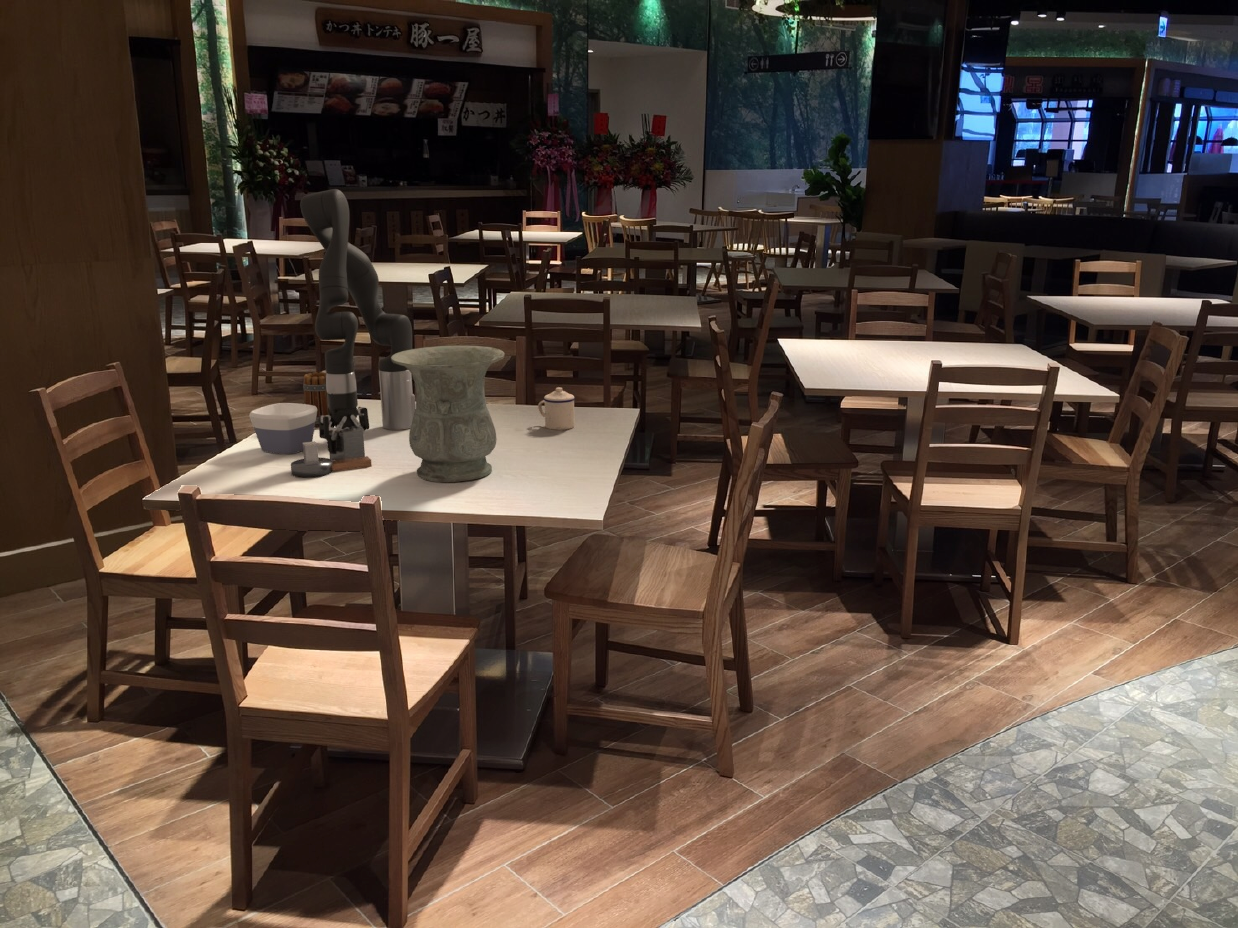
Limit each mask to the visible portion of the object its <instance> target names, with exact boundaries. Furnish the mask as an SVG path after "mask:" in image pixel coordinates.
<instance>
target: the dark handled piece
mask: <svg viewBox="0 0 1238 928" xmlns="http://www.w3.org/2000/svg"><path fill="white" fill-rule="evenodd" d="M302 444H303V451H302V453H303V454H302V455H303V458H300V459H297V460H294V461H292V462H290V472H291V473H290V474H291V476H292V475H293V477H294V476H295V478H300V479H312V478H321V477H325V476H328V475H331V474H332V473H333V472H339V471H345V470H347V471H349V470H354V469H360V468H361V469H362V468H363V469H364V468H369V467H372V459H371V458H370V457H369V456H368V455H365V457H358V458H350V459H343V460H332V459H330V458H329V457H328V458H326V457H321V456H320V457H319V448H318V443H317V442H316V441H314V440H312V442H305V443H302Z"/></svg>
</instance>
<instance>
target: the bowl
mask: <svg viewBox="0 0 1238 928" xmlns="http://www.w3.org/2000/svg"><path fill="white" fill-rule="evenodd" d="M316 416H317V408H316V406H313V405H307V404H304V403H295V402H294V403H293V402H291V403H289V402H281V403H280V402H278V403H274V404H273V403H272V404H268V405H264V406H262V407H258V408H255V409H253V410H251V411H250V412H249V419H250V422H251V425H252V428H253V430H254V433H255V435H256V438H257V440H258V443H259V446H260V449H261V451H262V452H264V453H269V454H276V455H291V454H292V455H293V454H296V453H300V452H303V444H302V443H305V442H313V441H314V434H315V421H316Z"/></svg>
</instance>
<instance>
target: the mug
mask: <svg viewBox="0 0 1238 928" xmlns="http://www.w3.org/2000/svg"><path fill="white" fill-rule="evenodd" d="M302 386H303V387H302V388H303V389H302V390H303V401H304V402H303V404H307V405H313V406H316V408H317V416H316V421H315V428H316V429H317V428H319V416H320V415H322V416H326V415H329V413H330V410H329V408H328V402H327V389H326V370H322V371H320V372H319V373H318V372H316V371H315V372H312V373H311V372H310V373H306V374H304V376H303V383H302ZM330 423H331V421H330ZM330 423H329V425H330ZM315 428H314V429H315Z"/></svg>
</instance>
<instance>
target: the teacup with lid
mask: <svg viewBox="0 0 1238 928" xmlns="http://www.w3.org/2000/svg"><path fill="white" fill-rule="evenodd" d="M575 398H576V397H575V396H574V395H573V394H571V393H568V392H567V391H565V390H563V387H556V388H555V390H554V391H552V392H550V393H549V394H546V395H545V396H544V397H543V400H541V401H539V403H538V404H537V410H538V412H539V414H540V416H542V417H544V424H545V425H544V426H545V428H547V429H548V430H553V431H564V430H565V431H566V430H570V429H572V428H574V427H575ZM543 404H544V411H543V407H542V406H543Z"/></svg>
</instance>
